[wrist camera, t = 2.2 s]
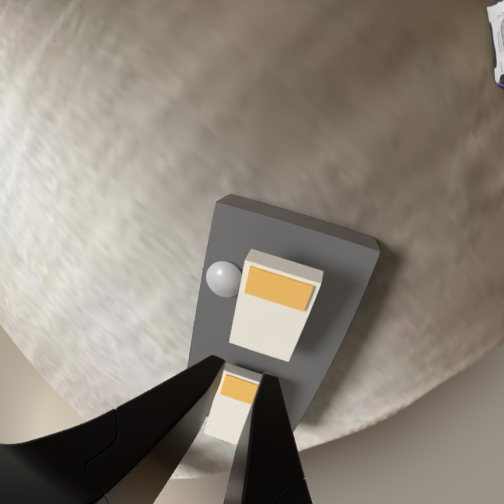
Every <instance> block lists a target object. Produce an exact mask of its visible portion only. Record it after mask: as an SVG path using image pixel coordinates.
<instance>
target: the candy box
mask: <svg viewBox="0 0 504 504" xmlns="http://www.w3.org/2000/svg"><path fill="white" fill-rule="evenodd" d="M487 11H488V17H489V24H490V30H491V36H492V46H493V61H494V71H495V81H496V83H497V84H498V85H500V86H502V87H504V0H496V1H495V2H493V3H492V4H491V5H489V6H488V7H487Z"/></svg>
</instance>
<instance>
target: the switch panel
mask: <svg viewBox="0 0 504 504" xmlns="http://www.w3.org/2000/svg"><path fill="white" fill-rule="evenodd" d="M251 249H254V250H257V251H260V252H264V253H267V254H270V255H273V256H276V257H280V258H283V259H286V260H289V261H293V262H296V263H299V264H302V265H305V266H309V267H312V268H315V269H318V270H322V271H323V277H322V283H321V286H320V288H319V291H318V293H317V296H316V298H315V301H314V303H313V306H312V308H311V311H310V313H309V316H308V318H307V320H306V323H305V325H304V327H303V330H302V332H301V335H300V337H299V339H298V341H297V344H296V346H295V348H294V351H293V353H292V355H291V357H290V360H289V362H287V361H284V360H281V359H278V358H275V357H271V356H268V355H265V354H262V353H259V352H256V351H253V350H250V349H247V348H244V347H241V346H238V345H235V344H232V343H229V339H230V334H231V329H232V324H233V319H234V314H235V308H236V303H237V298H238V293H239V288H240V283H241V278H242V272H243V267H244V262H245V259H246V257H247V255H248V253H249V252H250V250H251ZM379 254H380V249H379V247H378V244H377V242H376V240H375V238H374V237H371V236H368V235H365V234H362V233H359V232H356V231H353V230H350V229H347V228H344V227H341V226H338V225H334V224H331V223H328V222H325V221H322V220H318V219H315V218H312V217H309V216H305V215H302V214H299V213H295V212H292V211H289V210H285V209H282V208H278V207H275V206H272V205H268V204H265V203H261V202H258V201H254V200H250V199H247V198H243V197H240V196H236V195H232V194H229V195H227V196H225V197H224V198H222V199H220V200H218V201H216V204H215V209H214V214H213V220H212V225H211V230H210V235H209V240H208V246H207V251H206V257H205V262H204V268H203V273H202V279H201V285H200V291H199V297H198V303H197V309H196V315H195V321H194V327H193V334H192V340H191V347H190V353H189V360H188V367H187V368H189V367H191V366H193V365H194V364H196V363H198V362H199V361H201V360H203V359H204V358H206V357H208V356H209V355H216V356H219V357H222V358H224V359H225V360H226V363H229V364H232V365H235V366H238V367H241V368H244V369H247V370H250V371H253V372H256V373H259V374H263V373H269V374H272V375H275V376H277V377H278V378H279V381H280V385H281V389H282V393H283V397H284V400H285V404H286V408H287V412H288V416H289V419H290V423H291V427H292V431H293V432H294V430H295V429H296V427H297V425H298V424H299V422H300V420H301V419H302V417H303V415H304V413H305V412H306V410H307V408H308V406H309V404H310V403H311V401H312V399H313V397H314V395H315V393H316V392H317V390H318V388H319V386H320V384H321V382H322V380H323V378H324V377H325V375H326V373H327V371H328V369H329V367H330V365H331V363H332V361H333V359H334V357H335V355H336V353H337V351H338V349H339V347H340V345H341V343H342V340H343V338H344V336H345V334H346V332H347V330H348V328H349V325H350V323H351V321H352V319H353V317H354V314H355V312H356V310H357V308H358V305H359V303H360V301H361V299H362V296H363V294H364V291H365V289H366V287H367V284H368V282H369V279H370V277H371V275H372V272H373V270H374V267H375V264H376V262H377V259H378V257H379ZM226 363H225V364H226ZM213 400H214V399H213ZM212 403H213V402H212ZM211 407H212V404H211V406H210V409H209V411H208V413H207V417H209V414H210V410H211Z"/></svg>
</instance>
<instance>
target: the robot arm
mask: <svg viewBox="0 0 504 504" xmlns="http://www.w3.org/2000/svg"><path fill="white" fill-rule="evenodd" d="M225 363H226V360H225V359H224V358H222V357H219V356H216V355H209V356H208V357H206V358H204V359H203V360H201V361H199V362H198V363H196V364H194V365H193V366H191V367H189V368H187V369H186V370H184V371H182V372H180V373H179V374H177V375H175V376H173V377H172V378H170V379H168V380H166V381H165V382H163V383H161V384H159V385H157V386H156V387H154V388H152V389H150V390H148V391H146V392H145V393H143V394H141V395H139V396H137V397H135V398H134V399H132V400H130V401H128V402H126V403H124V404H122V405H120V406H118V407H117V408H116V410H115V409H112V410H110V411H108V412H107V413H105V414H103V415H100V416H98V417H96V418H94V419H92V420H90V421H87V422H85V423H83V424H80V425H77V426H74V427H72V428H69V429H66V430H63V431H60V432H57V433H54V434H50V435H47V436H44V437H41V438H38V439H34V440H31V441H27V442H23V443H17V444H0V504H153V503H154V501H155V500H156V498H157V497H158V495H159V494H160V492H161V491H162V489H163V488H164V486H165V484H166V483H167V481H168V480H169V478H170V477H171V475H172V474H173V472H174V471H175V469H176V468H177V466H178V464H179V463H180V461H181V460H182V458H183V457H184V455H185V453H186V452H187V450H188V449H189V447H190V446H191V444H192V442H193V441H194V439H195V438H196V436H197V434H198V432H199V431H200V429H201V427H202V425H203V423H204V420H205V418H206V416H207V413H208V411H209V409H210V406H211V404H212V402H213V399H214V397H215V395H216V392H217V390H218V388H219V385H220V383H221V379H222V375H223V371H224V367H225ZM304 477H305V476H304V472H303V469H302V465H301V461H300V457H299V454H298V450H297V446H296V442H295V438H294V435H293V431H292V427H291V423H290V419H289V416H288V412H287V408H286V404H285V400H284V397H283V393H282V389H281V385H280V381H279V378H278V377H277V376H275V375H272V374H269V373H263V374H262V377H261V380H260V383H259V385H258V388H257V391H256V393H255V396H254V399H253V402H252V404H251V407H250V410H249V413H248V415H247V418H246V421H245V424H244V426H243V429H242V432H241V434H240V437H239V440H238V443H237V447H236V451H235V456H234V460H233V465H232V469H231V473H230V478H229V482H228V486H227V491H226V495H225V499H224V503H223V504H312V501H311V497H310V494H309V491H308V487H307V483H306V480H305V479H304Z"/></svg>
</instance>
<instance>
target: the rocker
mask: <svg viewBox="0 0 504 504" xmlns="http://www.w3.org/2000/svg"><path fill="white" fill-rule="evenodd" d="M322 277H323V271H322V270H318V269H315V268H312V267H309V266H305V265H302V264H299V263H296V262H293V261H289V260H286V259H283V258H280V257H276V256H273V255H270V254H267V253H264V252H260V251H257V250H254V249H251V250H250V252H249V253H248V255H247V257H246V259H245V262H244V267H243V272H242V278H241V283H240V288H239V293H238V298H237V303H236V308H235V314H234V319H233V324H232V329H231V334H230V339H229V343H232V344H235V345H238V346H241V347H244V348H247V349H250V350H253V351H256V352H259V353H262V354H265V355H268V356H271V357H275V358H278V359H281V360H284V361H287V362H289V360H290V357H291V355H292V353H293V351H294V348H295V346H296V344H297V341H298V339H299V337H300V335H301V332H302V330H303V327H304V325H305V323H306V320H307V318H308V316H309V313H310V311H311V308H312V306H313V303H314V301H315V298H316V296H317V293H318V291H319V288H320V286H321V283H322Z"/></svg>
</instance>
